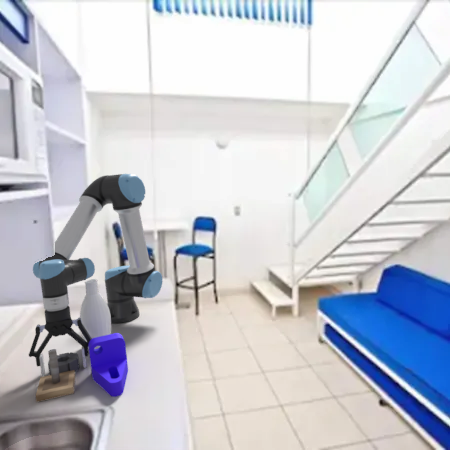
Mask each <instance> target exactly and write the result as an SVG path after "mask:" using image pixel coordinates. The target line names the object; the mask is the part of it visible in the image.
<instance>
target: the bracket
mask: <svg viewBox="0 0 450 450" xmlns="http://www.w3.org/2000/svg"><path fill="white" fill-rule="evenodd" d="M96 346H100V347H99V348H98V349H94V348H95V347H96ZM88 347H89V350H88V353H89V355H88V356H89V362H90V369H91V370H90V371H91V372H90V373H91V377H92V380H93V381H94V382H95V383H96V384H97V385H98V386H99V387H101V389H102V390H103V391H105V392H106V393H107V394H108V395H110V397H114V398H116V397H119V396H121V395H123V393H124V391H125V385H126V382H127V377H128V372H129V365H128V355H127V349H126V347H127V346H126V341H125V339H124V337H123V335H122V334H121V333H119V332H114V333H111V334H109V335H105V336H100V337H96V338H93V339H91V340H90V341H89V344H88Z"/></svg>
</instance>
